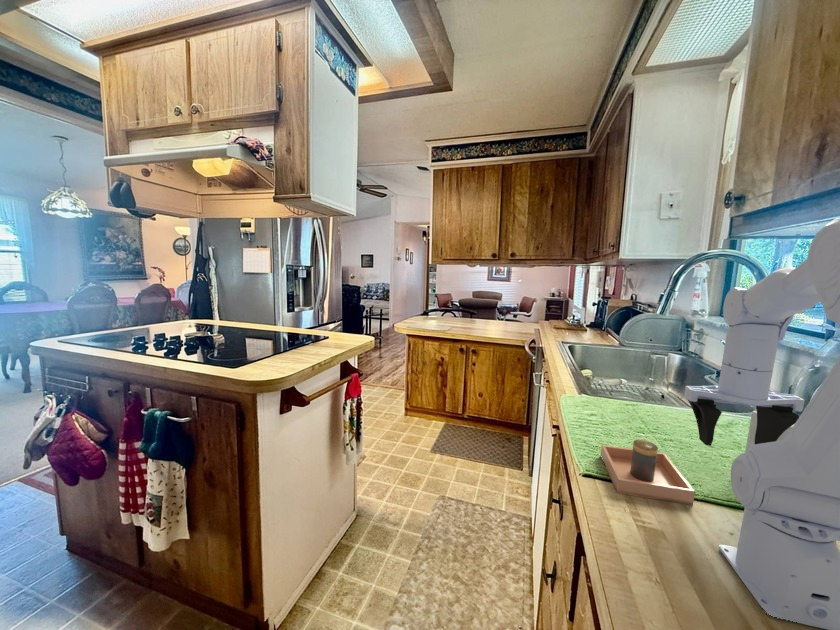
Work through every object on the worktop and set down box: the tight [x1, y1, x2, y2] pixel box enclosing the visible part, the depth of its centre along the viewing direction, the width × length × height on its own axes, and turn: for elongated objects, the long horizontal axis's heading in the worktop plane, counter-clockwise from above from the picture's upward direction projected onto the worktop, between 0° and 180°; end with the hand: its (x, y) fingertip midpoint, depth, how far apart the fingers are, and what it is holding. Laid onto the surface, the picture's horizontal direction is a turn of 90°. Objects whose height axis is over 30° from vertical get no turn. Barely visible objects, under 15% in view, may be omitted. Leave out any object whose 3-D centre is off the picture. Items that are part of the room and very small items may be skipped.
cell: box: [630, 439, 659, 482], centre depth 60 cm, size 4×4×6 cm
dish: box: [600, 444, 696, 506], centre depth 60 cm, size 11×11×2 cm
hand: (732, 445), depth 54 cm, fingers open, 7 cm apart
